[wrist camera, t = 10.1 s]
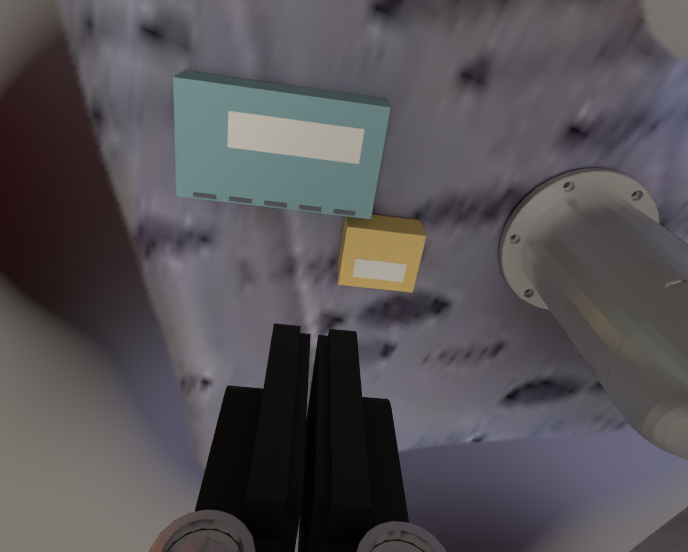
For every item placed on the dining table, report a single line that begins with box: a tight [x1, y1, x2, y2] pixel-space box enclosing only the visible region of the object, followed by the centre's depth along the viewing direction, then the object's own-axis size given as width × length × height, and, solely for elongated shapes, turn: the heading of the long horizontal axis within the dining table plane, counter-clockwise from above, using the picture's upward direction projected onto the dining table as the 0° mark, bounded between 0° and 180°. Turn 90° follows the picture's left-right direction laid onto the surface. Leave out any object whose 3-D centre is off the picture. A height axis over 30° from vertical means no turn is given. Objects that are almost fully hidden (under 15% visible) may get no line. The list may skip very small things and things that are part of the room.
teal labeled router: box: [173, 70, 391, 219], centre depth 36 cm, size 14×8×3 cm, turn 82°
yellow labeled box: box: [338, 214, 426, 293], centre depth 40 cm, size 6×5×3 cm
